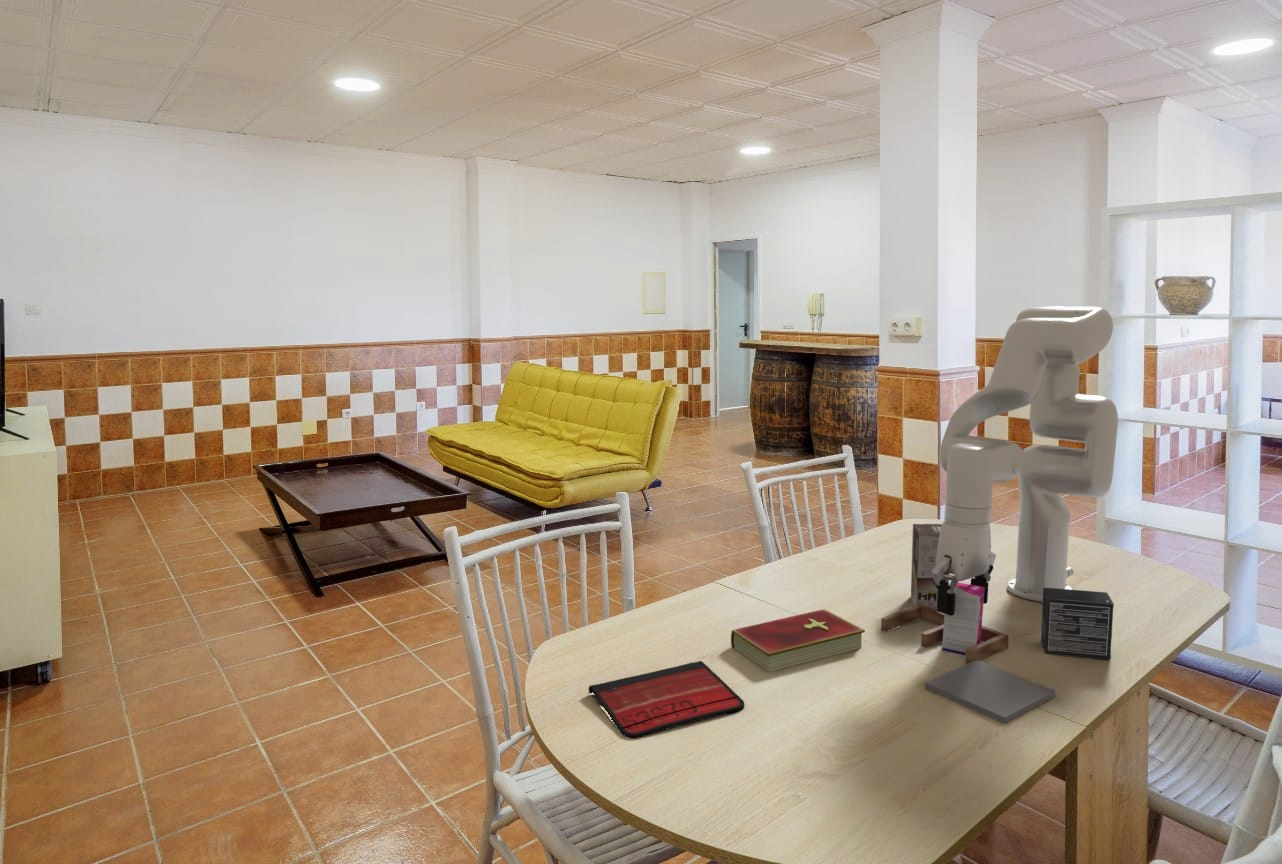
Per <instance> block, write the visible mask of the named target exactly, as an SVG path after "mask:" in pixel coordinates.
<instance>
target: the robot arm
mask: <svg viewBox="0 0 1282 864" xmlns="http://www.w3.org/2000/svg"><path fill="white" fill-rule="evenodd" d="M1113 328H1114V323H1113V319H1112V316H1111V314H1110V313H1109V311H1108V310H1106V309H1105V308H1102V307H1099V306H1098V307H1097V306H1039V307H1030V308H1027V309H1024V310H1022V311H1020V312H1019V314H1017V316H1016V320H1015V321H1014V322H1013V323H1012V324H1011V325H1009V327H1008V329H1007V331H1006V334H1005V336H1004V339H1003V342H1002V343H1001V348H1000V350H999V352H998V356H997V358H996V361H995V365H994V367H993V370H992V373H991V376H990V378H989V381H988V383H987V385H986V386H985V387H983V388H981V389H980V390H978V391H976V392H975V393H974V394H973V395H971V396H970V397H968V399H967V400H965V401H964V402H963V403H961V405H960V406H958V407H957V409H955V410H954V412H953V413H952V415H951V417H950V418H949V420H948V424H947V426H946V430H945V432H944V433H943V438H942V440H941V444H940V447H939V454H938V459H939V464H940V467H941V469H943V470H944V471H945V472H946V481H945V482H946V483H945V497H944V498H945V502H944V521H943V522H942V523H941V524H942V527H941V531H940V535H939V541H938V548H937V557H936V567H935V568H934V569H933V570H932V572H931V573H932V577H933V580H934V585H935V586H936V590H938V596H937V611H939V612H941V613H944V614H947V615H950V616H952V615H954V614H955V595H956V594H955V593H953V591H954V589H955V587H956V585H957V583H958V582H963V581H966V580H969V579H970V585H976V586H982V587H985V590H984V602H983V605H985V604H988V598H989V596H988V595H989V582H991V578H992V577H991V573H992V571H994V564H995V561H996V558H997V554H996V553H994V552H992V535H991V514H992V513H991V512H992V499H993V497H992V495H993V483H1007V482H1010V481H1014V479H1016V478H1018V479H1017V480H1018V487H1019V515H1018V516H1019V517H1018V518H1019V519H1018V531H1017V534H1018V535H1017V549H1016V551H1017V553H1016V566H1015V568H1016V569H1015V571H1016V572H1015V578H1012V579H1010V580H1008V581H1007V590H1008V591H1009V592H1010V593H1011V594H1013V595H1015V596H1017V597H1020V598H1023V599H1026V600H1029V601H1035V602H1042V603H1043V588H1057V589H1069V590H1074V589H1073V588H1072V586H1070V585H1068V584H1066V583H1067V579H1068V578H1069V577H1072V576H1073V575H1074V574H1075V571H1074V569H1073V568H1071V567H1070V566H1068V555H1069V538H1070V524H1071V523H1070V522H1071V514H1070V510H1069V507H1068V505H1067V503H1066V501H1065V499H1064V498H1063V496H1062V495H1069V496H1074V497H1076V496H1077V497H1082V498H1090V499H1091V498H1092V499H1099V498H1102V497H1104V496H1106V495H1107V494H1108V492H1109V490H1110V489H1111V485H1112V482H1113V475H1114V467H1115V457H1116V445H1117V437H1118V436H1117V435H1118V426H1119V425H1118V423H1119V421H1118V420H1119V419H1118V418H1119V415H1118V410H1117V407H1116V404H1115V402H1114V401H1112V400H1111V399H1110V398H1108V397H1106V396H1101V395H1094V394H1093V395H1092V394H1082V393H1081V394H1080V392H1079V386H1080V385H1079V384H1080V373H1081V371H1080V370H1081V369H1080V367H1079V365H1080V364H1083V363H1085V362H1087V361H1088V360H1090V359H1091V358H1093V357H1095V356H1096V355H1098V353H1099V354H1100V352H1101V351H1103V350H1104V349H1105V347H1106V346H1108V344H1109V342H1110V340H1111V337H1112V334H1113V331H1114V330H1113ZM1028 405H1030V410H1029V427H1030V430H1031V432H1032V433H1033V434H1034V435H1035V436H1037V437H1039V438H1044V439H1051V440H1059V441H1068V442H1078V443H1083V444H1084V445H1085V448H1086V449H1085V448H1075V447H1068V446H1060V445H1052V444H1051V445H1049V444H1034V445H1030V446H1027V447H1025V448H1022V447H1021V446H1020V445H1019V444H1018V443H1016V442H1013V441H1012V440H1007V439H1006V440H1005V439H999V438H990V437H985V436H984V437H983V436H977V435H970V434H971V433H972V431H973V430H974V429H975V428H976V427H977V426H978V425H980V424H981V423H983V422H985V421H986V420H988V419H991V418H993V417H996V416H998V415H999V416H1000V415H1002V414H1005V413H1008V412H1012V411H1015V410H1019V409H1021V408H1024V407H1026V406H1028ZM947 579H948V580H949V585H948V584H947V582H946V580H947Z"/></svg>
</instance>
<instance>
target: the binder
mask: <svg viewBox="0 0 1282 864" xmlns="http://www.w3.org/2000/svg"><path fill="white" fill-rule="evenodd" d="M592 692H593V693H594V694H595V695H594V696H595V697H596V698H597V699H598V701H599V703H600V705H602V706H603V707H604V708H605V710H606V711H607V712H608V714H609V715H610V717H611V718H612V719H611V720H613V722H614V723H615V725H616V726H617V727H618V729H619V730H620V731H619V730H618V729H617V730H618V731H619V732H620V733H621V734H622V735H623V736H624V737H625V736H626V737H625V738H627V737H629V739H632V738H633V739H640V738H639V737H641V738H643V736H644V737H646V736H649V735H653V734H654V732H655V733H657V732H661V731H663V729H665V730H667V729H666V728H669V729H671V727H672V728H675V727H677V726H676V725H679V726H681V725H680V724H683V725H685V724H684V723H686V724H689V723H692V722H691V721H693V722H695V721H694V720H697V721H699V720H698V719H700V720H702V718H704V719H706V717H707V718H710V716H711V717H715V716H719V715H731V714H737V713H739V711H740V712H742V711H743V710H744V709H745V701H744V700H743V699H742V698H741V696H740V695H739V694H737V692H735V691H734V690H733V689H732V688H731V687H730V685H729V686H728V684H726V682H725V681H724V680H722V678H720V676H718V675H717V674H716V673H715V672H714V671H713V670H712V669H711V668H710V667H709V666H708V665H707V664H706V663H704V661H701V660H699V661H695V662H690V663H685V664H681V665H678V666H673V667H668V668H662V669H660V670H655V671H652V672H651V671H650V672H647V673H642V674H637V675H634V676H629V677H624V678H620V679H614V680H611V681H606V682H601V683H598V684H591V685H589V686H588V694H589V693H592ZM741 710H742V711H741ZM688 722H689V723H688ZM615 725H614V726H615ZM616 726H615V727H616ZM674 726H675V727H674ZM652 733H653V734H652Z"/></svg>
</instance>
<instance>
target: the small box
mask: <svg viewBox="0 0 1282 864" xmlns="http://www.w3.org/2000/svg"><path fill="white" fill-rule="evenodd" d="M1114 607H1115V604H1114V602H1113V600H1112V598H1111V597H1110V594H1108V592H1107V591H1091V590H1080V589H1078V590H1077V589H1073V590H1069V589H1057V588H1043V602H1042V610H1041V611H1042V613H1041V628H1040V632H1041V633H1040V643H1042V644H1041V647H1042V650H1043V653H1044V654H1045V655H1055V656H1065V657H1066V656H1067V657H1073V658H1074V657H1075V658H1083V659H1094V660H1101V661H1111V660H1112V655H1111V654H1112V651H1111V650H1112V638H1113V621H1114V620H1113V618H1114Z"/></svg>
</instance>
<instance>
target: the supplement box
mask: <svg viewBox="0 0 1282 864" xmlns="http://www.w3.org/2000/svg"><path fill="white" fill-rule="evenodd" d="M984 590H985V587H982V586H976V585H971V583H970V584H969V583H964V582H960V581H958V583H957V585H956V587H955V589H954V591H953V593H955V594H956V595H955V614H954V615H952V616H950V615H947V614H944V629H943V641H942V643H941V645H942V647H941V651H942V652H945V653H946V652H947V653H952V654H957V655H961V656H965V650H966V649H969V648H971V647H973V646H976V645H978V644H980V643H982V641H981V629H982V626H983V615H984V614H983V613H984V604H983V602H984Z"/></svg>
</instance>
